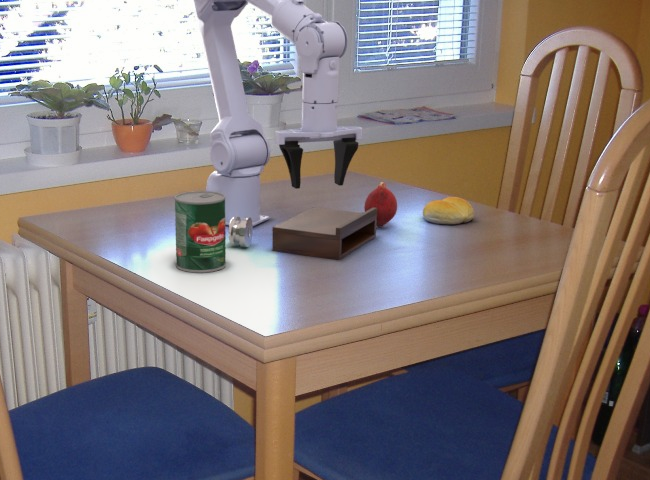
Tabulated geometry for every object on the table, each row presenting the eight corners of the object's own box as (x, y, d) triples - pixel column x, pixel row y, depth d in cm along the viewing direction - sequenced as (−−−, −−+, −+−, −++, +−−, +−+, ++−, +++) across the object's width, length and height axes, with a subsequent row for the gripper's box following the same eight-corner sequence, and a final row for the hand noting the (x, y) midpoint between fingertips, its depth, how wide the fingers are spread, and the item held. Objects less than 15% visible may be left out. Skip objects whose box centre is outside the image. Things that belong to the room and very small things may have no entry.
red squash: (395, 231, 180) (397, 186, 177) (362, 230, 182) (364, 185, 178) (396, 223, 186) (399, 179, 183) (364, 222, 187) (366, 178, 184)
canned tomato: (208, 275, 157) (207, 204, 153) (166, 268, 161) (164, 198, 156) (235, 263, 163) (235, 194, 159) (194, 256, 167) (192, 188, 163)
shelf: (272, 250, 170) (272, 219, 168) (312, 229, 183) (313, 200, 180) (339, 260, 164) (340, 228, 162) (375, 237, 177) (377, 207, 175)
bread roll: (413, 218, 189) (415, 197, 188) (450, 212, 194) (452, 191, 192) (443, 228, 183) (445, 205, 181) (481, 221, 187) (483, 199, 185)
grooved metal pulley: (244, 250, 170) (244, 221, 168) (227, 249, 171) (227, 219, 169) (252, 243, 174) (252, 214, 172) (235, 241, 175) (235, 213, 173)
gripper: (285, 107, 159) (284, 193, 165) (371, 102, 163) (367, 187, 169) (271, 101, 166) (270, 184, 171) (354, 97, 170) (350, 179, 175)
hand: (317, 185), depth 170 cm, fingers open, 7 cm apart
